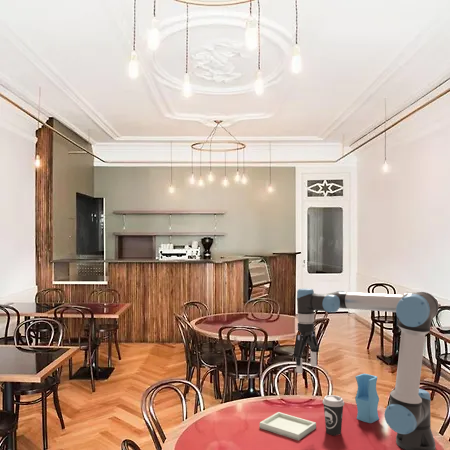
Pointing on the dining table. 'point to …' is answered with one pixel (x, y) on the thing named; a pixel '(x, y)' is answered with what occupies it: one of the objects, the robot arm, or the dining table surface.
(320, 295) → the robot arm
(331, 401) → the coffee cup
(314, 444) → the dining table surface
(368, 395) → the vase
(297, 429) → the tray
